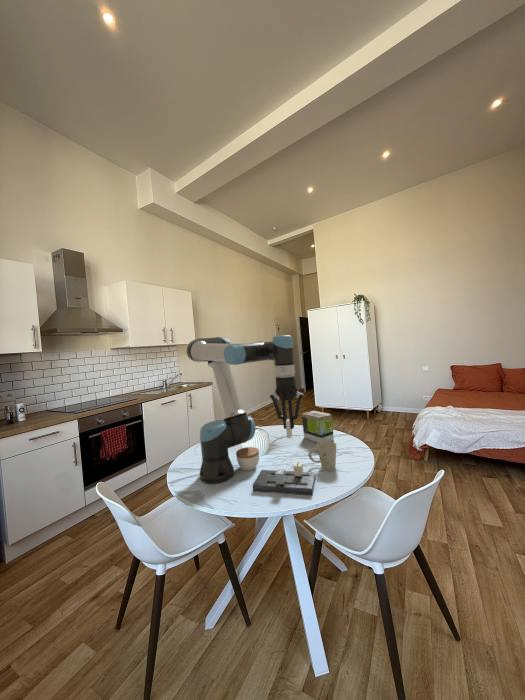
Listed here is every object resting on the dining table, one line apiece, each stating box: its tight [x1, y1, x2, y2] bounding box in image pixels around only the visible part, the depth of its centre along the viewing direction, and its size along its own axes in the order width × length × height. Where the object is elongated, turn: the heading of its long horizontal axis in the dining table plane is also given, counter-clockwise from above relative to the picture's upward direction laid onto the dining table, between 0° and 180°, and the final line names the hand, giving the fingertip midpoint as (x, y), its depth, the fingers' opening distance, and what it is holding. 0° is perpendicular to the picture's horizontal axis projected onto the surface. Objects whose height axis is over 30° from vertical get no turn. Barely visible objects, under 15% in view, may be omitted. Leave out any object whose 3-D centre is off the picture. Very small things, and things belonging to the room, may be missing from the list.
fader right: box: [275, 468, 286, 484], centre depth 109 cm, size 3×4×4 cm
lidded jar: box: [235, 446, 260, 471], centre depth 130 cm, size 11×11×9 cm
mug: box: [308, 441, 337, 471], centre depth 125 cm, size 8×13×10 cm, turn 78°
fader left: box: [293, 461, 304, 476], centre depth 114 cm, size 3×4×4 cm
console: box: [252, 469, 316, 496], centre depth 112 cm, size 23×13×3 cm, turn 74°
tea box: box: [301, 410, 335, 444], centre depth 160 cm, size 15×10×15 cm, turn 32°
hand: (289, 436), depth 107 cm, fingers closed
